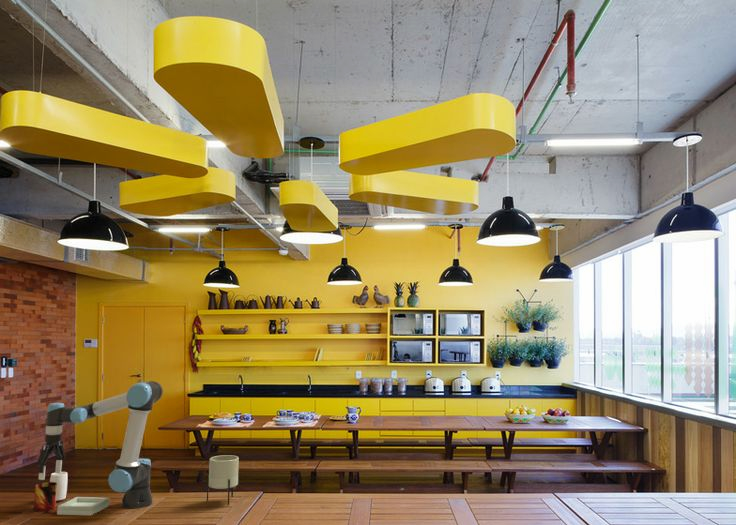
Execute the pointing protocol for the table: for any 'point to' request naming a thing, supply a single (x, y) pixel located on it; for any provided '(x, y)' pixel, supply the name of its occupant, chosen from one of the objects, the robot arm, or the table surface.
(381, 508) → the table surface
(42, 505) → the mug
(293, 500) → the table surface
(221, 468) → the planter
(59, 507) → the tray
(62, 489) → the cup
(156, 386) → the robot arm
